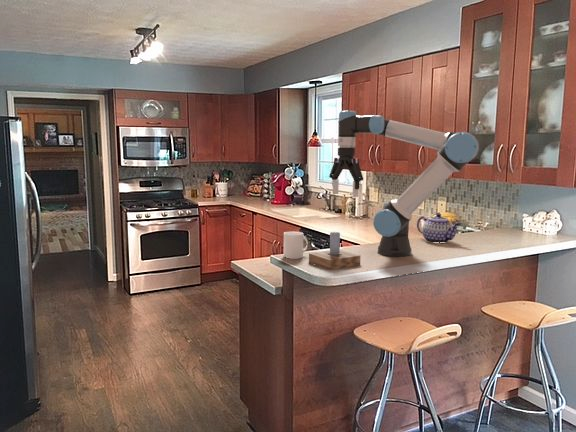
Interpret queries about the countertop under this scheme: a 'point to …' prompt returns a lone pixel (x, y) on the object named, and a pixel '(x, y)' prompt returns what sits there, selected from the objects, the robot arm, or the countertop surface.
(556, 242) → the countertop surface
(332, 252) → the dowel
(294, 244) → the mug
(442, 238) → the teapot
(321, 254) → the board
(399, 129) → the robot arm
